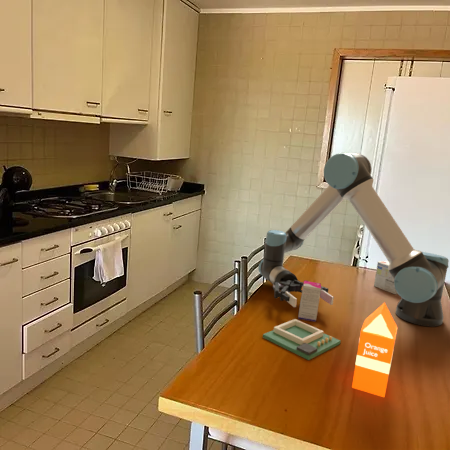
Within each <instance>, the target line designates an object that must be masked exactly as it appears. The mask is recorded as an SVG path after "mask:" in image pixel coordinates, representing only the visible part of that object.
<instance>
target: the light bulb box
mask: <svg viewBox="0 0 450 450" xmlns="http://www.w3.org/2000/svg"><path fill="white" fill-rule="evenodd" d="M388 268H389V261H388V260H381V261H377V264H376V271H375V278H374V283H373V287H375V288H379V289H380V290H383V291H385V292H387V293H391V294H394V295H399V294H398V293H397V291H396V289H395V286H394V278H393V277H392V275H391V273H390V272H389V270H388Z"/></svg>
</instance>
